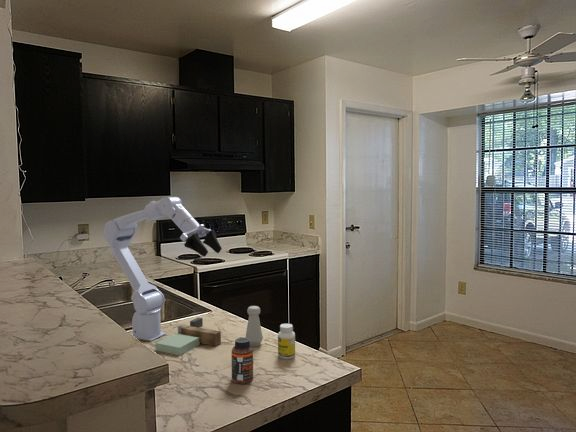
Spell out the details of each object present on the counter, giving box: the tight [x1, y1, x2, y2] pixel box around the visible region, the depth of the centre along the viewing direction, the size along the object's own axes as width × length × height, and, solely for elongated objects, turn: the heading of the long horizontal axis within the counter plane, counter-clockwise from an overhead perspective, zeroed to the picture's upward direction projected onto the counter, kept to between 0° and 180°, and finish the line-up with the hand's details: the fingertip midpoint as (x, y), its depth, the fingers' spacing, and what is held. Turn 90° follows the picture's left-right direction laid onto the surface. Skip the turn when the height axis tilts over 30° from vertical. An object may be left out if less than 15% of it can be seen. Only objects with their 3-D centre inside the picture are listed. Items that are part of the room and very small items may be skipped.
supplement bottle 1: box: [231, 337, 254, 385], centre depth 119 cm, size 6×6×11 cm
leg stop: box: [189, 317, 204, 328], centre depth 164 cm, size 2×5×3 cm, turn 155°
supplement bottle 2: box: [277, 323, 296, 360], centre depth 136 cm, size 5×5×10 cm
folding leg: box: [177, 324, 222, 347], centre depth 149 cm, size 17×3×4 cm, turn 65°
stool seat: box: [155, 332, 200, 356], centre depth 144 cm, size 10×10×2 cm
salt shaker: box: [244, 305, 264, 348], centre depth 145 cm, size 6×6×13 cm
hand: (213, 252), depth 140 cm, fingers open, 7 cm apart
